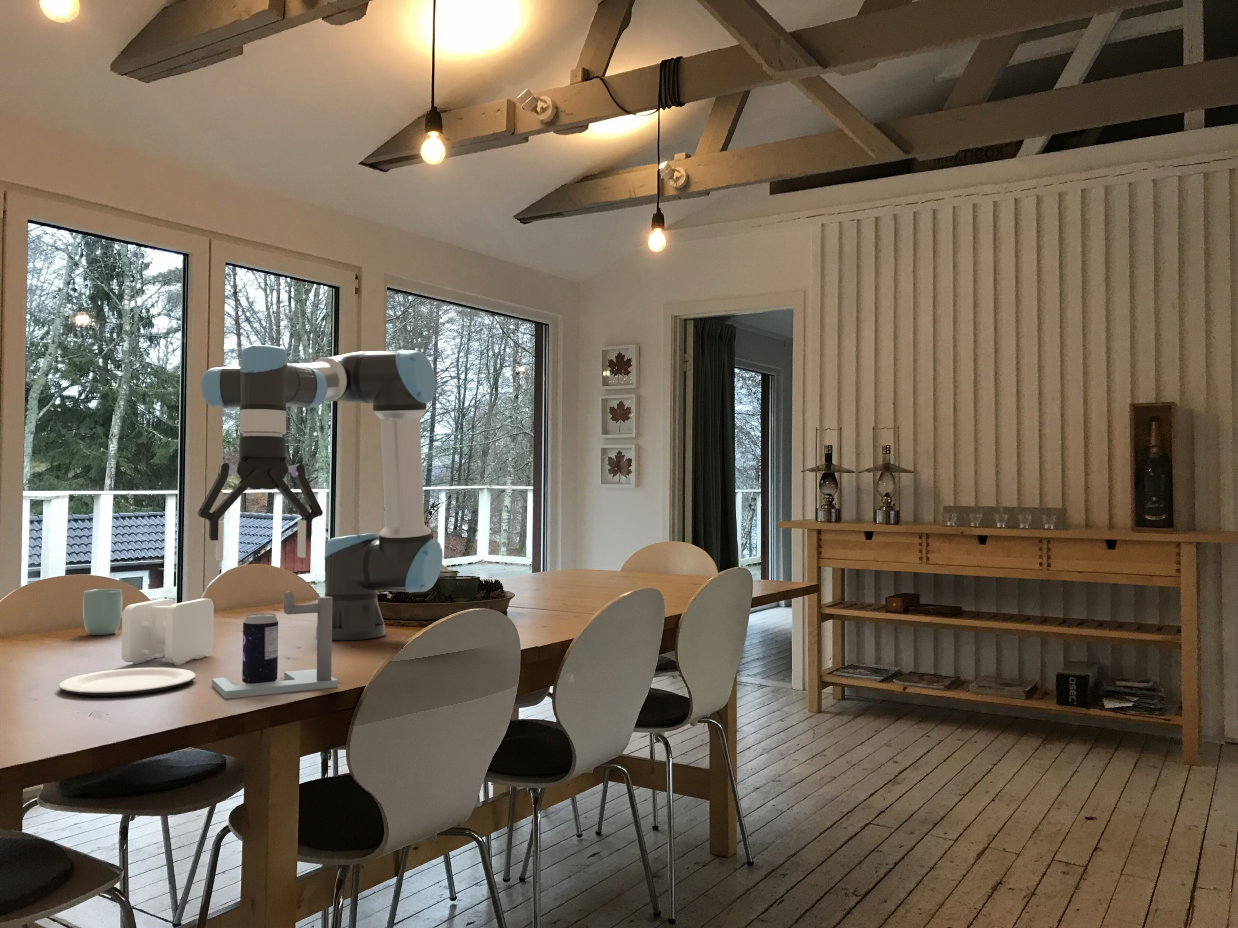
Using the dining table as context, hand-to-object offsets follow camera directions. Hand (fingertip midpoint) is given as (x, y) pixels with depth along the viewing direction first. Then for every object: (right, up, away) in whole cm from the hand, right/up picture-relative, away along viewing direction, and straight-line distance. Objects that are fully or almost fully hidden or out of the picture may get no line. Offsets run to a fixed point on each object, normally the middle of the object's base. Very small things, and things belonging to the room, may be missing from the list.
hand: (261, 558), depth 167 cm
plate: (-22, -22, -2) cm, 31 cm away
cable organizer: (-26, -22, +22) cm, 41 cm away
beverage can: (0, -22, -1) cm, 22 cm away
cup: (-57, -23, +55) cm, 82 cm away
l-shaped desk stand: (+3, -22, -2) cm, 22 cm away
